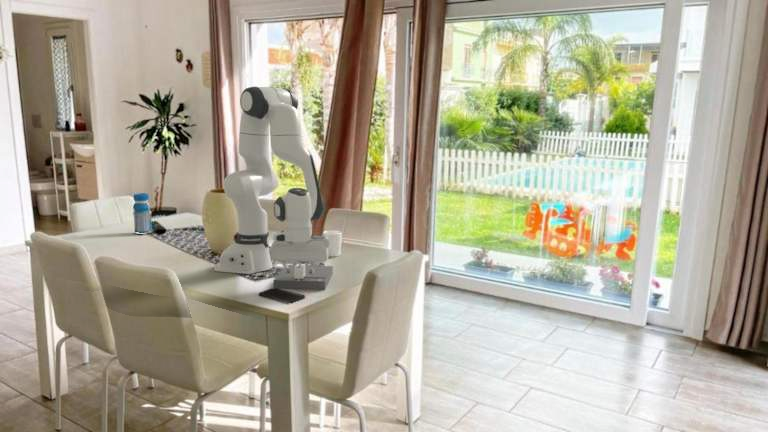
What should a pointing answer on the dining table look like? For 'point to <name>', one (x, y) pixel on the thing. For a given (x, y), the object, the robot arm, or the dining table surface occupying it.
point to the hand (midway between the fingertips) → (300, 273)
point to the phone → (281, 295)
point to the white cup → (334, 242)
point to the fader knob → (299, 271)
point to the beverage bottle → (142, 213)
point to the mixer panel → (308, 282)
